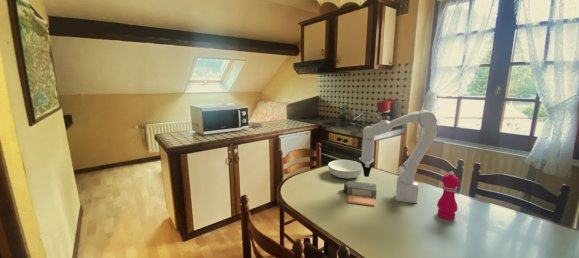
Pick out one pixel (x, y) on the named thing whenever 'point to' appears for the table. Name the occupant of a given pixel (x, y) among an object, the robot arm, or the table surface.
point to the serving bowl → (345, 168)
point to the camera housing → (360, 189)
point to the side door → (361, 200)
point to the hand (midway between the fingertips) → (366, 176)
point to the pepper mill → (448, 197)
